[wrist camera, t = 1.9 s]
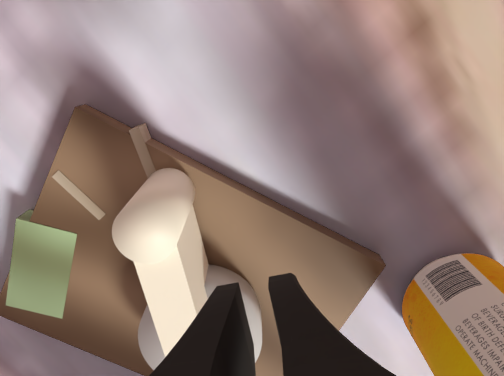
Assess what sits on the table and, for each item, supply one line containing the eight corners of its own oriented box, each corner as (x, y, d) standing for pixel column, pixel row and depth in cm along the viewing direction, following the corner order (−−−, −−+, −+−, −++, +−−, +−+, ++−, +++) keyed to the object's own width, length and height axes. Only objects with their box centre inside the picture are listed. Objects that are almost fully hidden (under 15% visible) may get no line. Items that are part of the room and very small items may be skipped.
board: (268, 410, 25) (268, 427, 24) (-5, 295, 23) (-19, 308, 22) (384, 246, 22) (392, 257, 21) (77, 87, 19) (66, 90, 18)
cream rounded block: (270, 350, 22) (276, 427, 18) (165, 368, 22) (143, 448, 18) (225, 155, 19) (217, 188, 14) (101, 180, 19) (55, 220, 14)
